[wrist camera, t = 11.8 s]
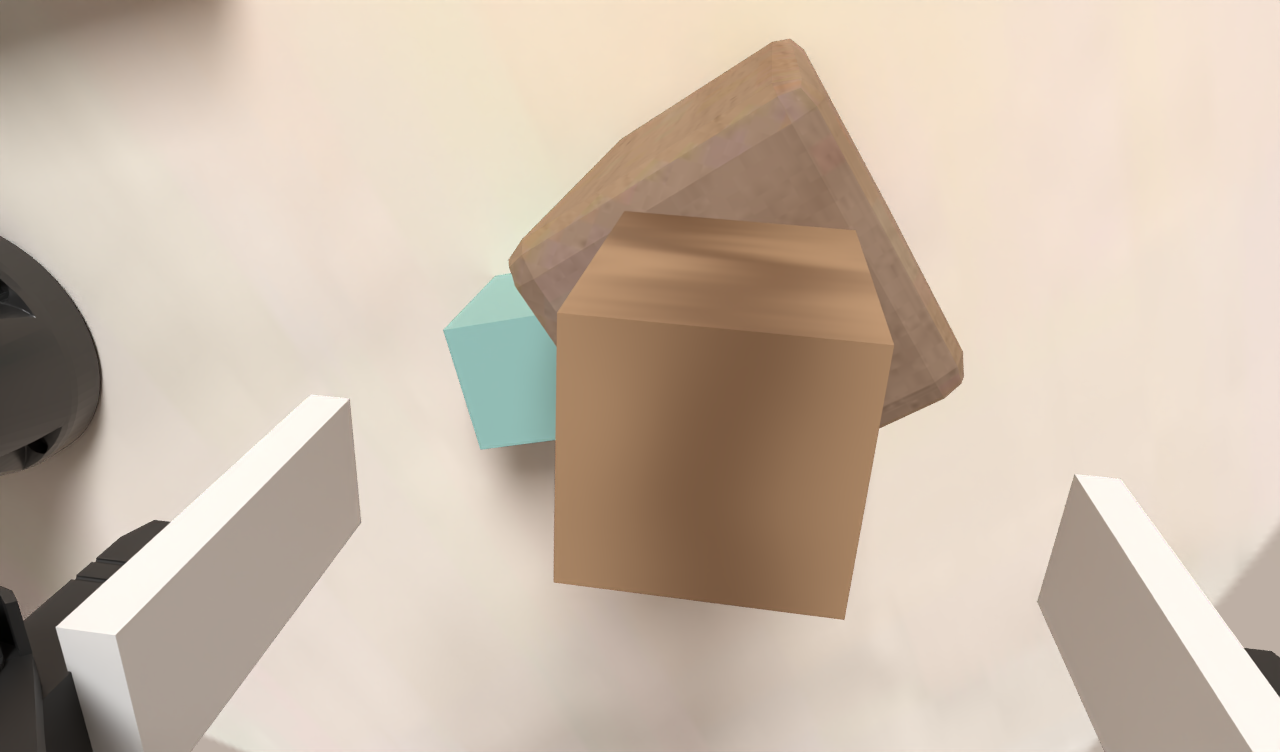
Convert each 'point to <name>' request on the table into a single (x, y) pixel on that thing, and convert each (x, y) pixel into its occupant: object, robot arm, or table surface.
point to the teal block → (504, 367)
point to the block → (752, 204)
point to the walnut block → (718, 413)
